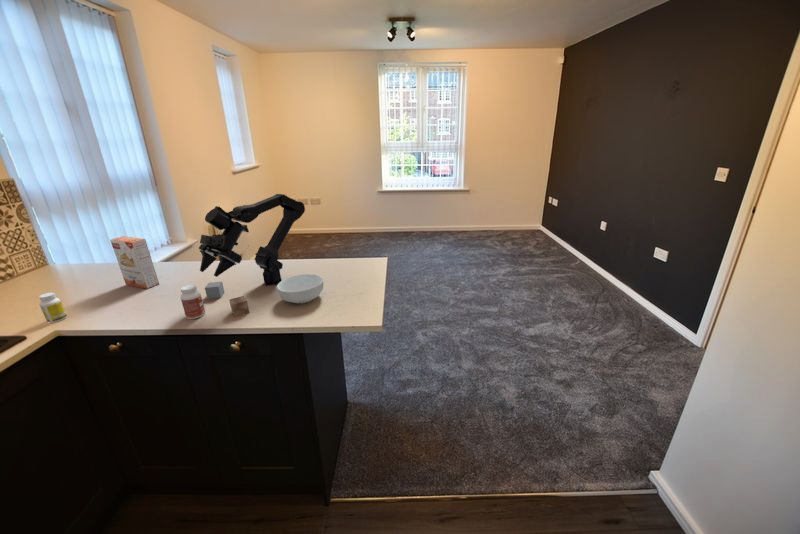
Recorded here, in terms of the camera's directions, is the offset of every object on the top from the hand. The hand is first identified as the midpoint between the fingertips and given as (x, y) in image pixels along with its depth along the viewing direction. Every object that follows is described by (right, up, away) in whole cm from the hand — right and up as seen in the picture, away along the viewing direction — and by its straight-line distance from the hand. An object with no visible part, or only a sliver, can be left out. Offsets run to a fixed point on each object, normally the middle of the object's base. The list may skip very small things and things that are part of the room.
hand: (208, 273), depth 127 cm
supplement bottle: (-54, -17, 0) cm, 56 cm away
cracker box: (-43, -6, +27) cm, 51 cm away
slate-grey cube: (-4, -9, +14) cm, 17 cm away
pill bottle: (-4, -15, -1) cm, 15 cm away
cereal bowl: (+32, -10, +9) cm, 34 cm away
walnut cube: (+12, -14, 0) cm, 18 cm away
